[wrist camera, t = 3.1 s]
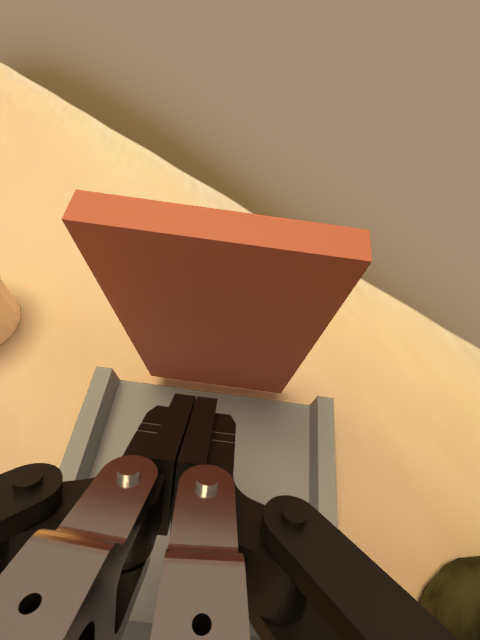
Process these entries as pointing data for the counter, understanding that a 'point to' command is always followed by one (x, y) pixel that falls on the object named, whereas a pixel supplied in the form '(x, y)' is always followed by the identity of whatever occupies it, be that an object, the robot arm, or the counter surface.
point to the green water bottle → (456, 597)
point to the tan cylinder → (8, 313)
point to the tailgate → (217, 284)
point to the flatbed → (249, 459)
